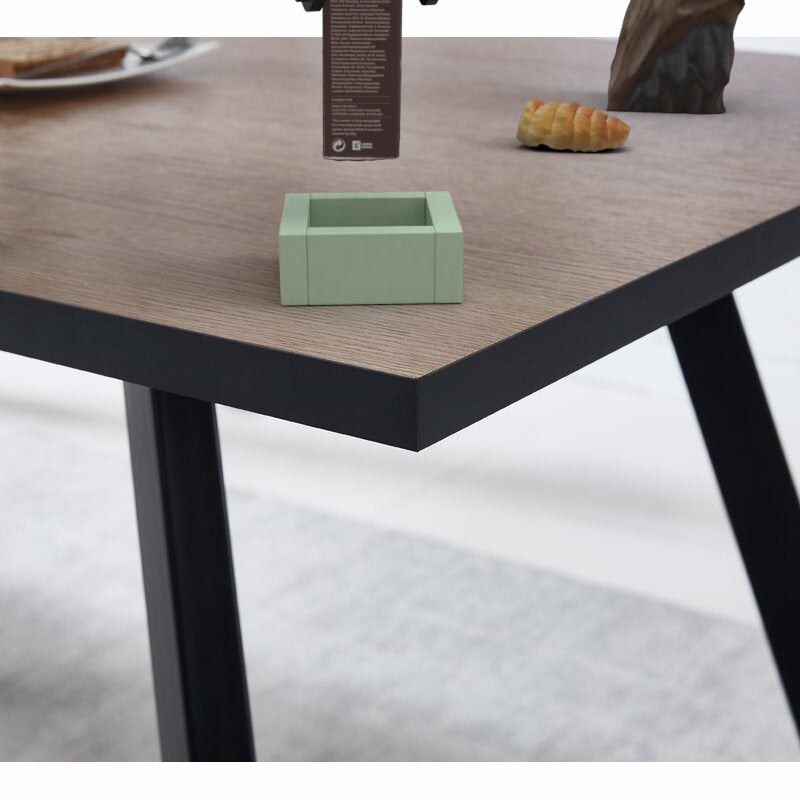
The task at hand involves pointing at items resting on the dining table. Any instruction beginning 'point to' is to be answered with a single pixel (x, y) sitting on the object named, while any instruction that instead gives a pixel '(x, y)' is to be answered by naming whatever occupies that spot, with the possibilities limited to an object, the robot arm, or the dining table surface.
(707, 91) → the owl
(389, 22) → the box
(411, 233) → the socket
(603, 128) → the pastry
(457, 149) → the dining table surface
